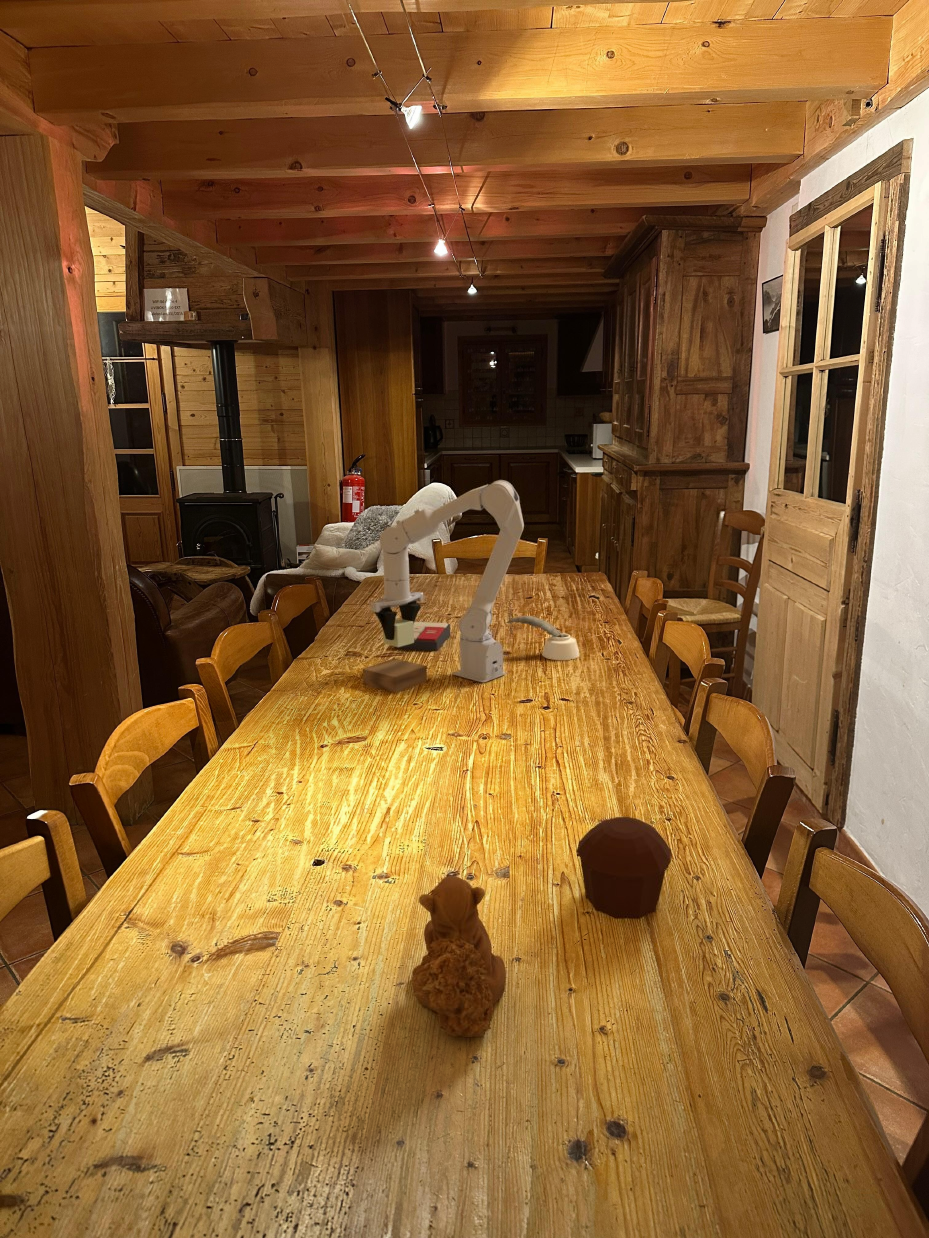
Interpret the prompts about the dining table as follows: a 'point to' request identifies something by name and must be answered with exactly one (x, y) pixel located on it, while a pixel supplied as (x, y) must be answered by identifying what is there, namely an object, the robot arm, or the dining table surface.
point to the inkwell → (552, 640)
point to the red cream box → (428, 636)
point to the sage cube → (401, 633)
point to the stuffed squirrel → (458, 961)
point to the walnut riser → (395, 675)
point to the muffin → (623, 867)
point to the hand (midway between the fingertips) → (398, 636)
